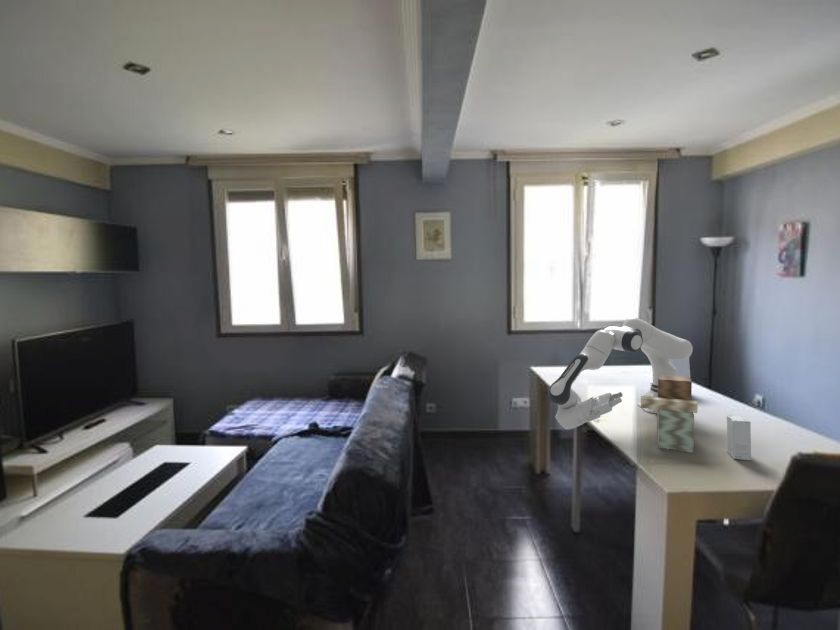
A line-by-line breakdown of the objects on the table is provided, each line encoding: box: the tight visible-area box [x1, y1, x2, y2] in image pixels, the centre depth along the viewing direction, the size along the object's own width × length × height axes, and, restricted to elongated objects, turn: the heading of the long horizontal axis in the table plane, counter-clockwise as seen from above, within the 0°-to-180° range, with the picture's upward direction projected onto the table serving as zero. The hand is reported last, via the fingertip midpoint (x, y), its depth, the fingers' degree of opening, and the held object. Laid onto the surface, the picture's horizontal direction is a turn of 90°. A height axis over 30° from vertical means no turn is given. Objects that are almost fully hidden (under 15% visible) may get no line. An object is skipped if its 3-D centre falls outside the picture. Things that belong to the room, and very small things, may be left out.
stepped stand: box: [656, 375, 695, 453], centre depth 181 cm, size 12×20×26 cm, turn 153°
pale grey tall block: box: [668, 357, 691, 378], centre depth 256 cm, size 15×15×28 cm
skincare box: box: [726, 415, 752, 462], centre depth 166 cm, size 8×6×15 cm
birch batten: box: [640, 395, 699, 414], centre depth 178 cm, size 20×4×4 cm, turn 63°
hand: (621, 396), depth 186 cm, fingers open, 8 cm apart
